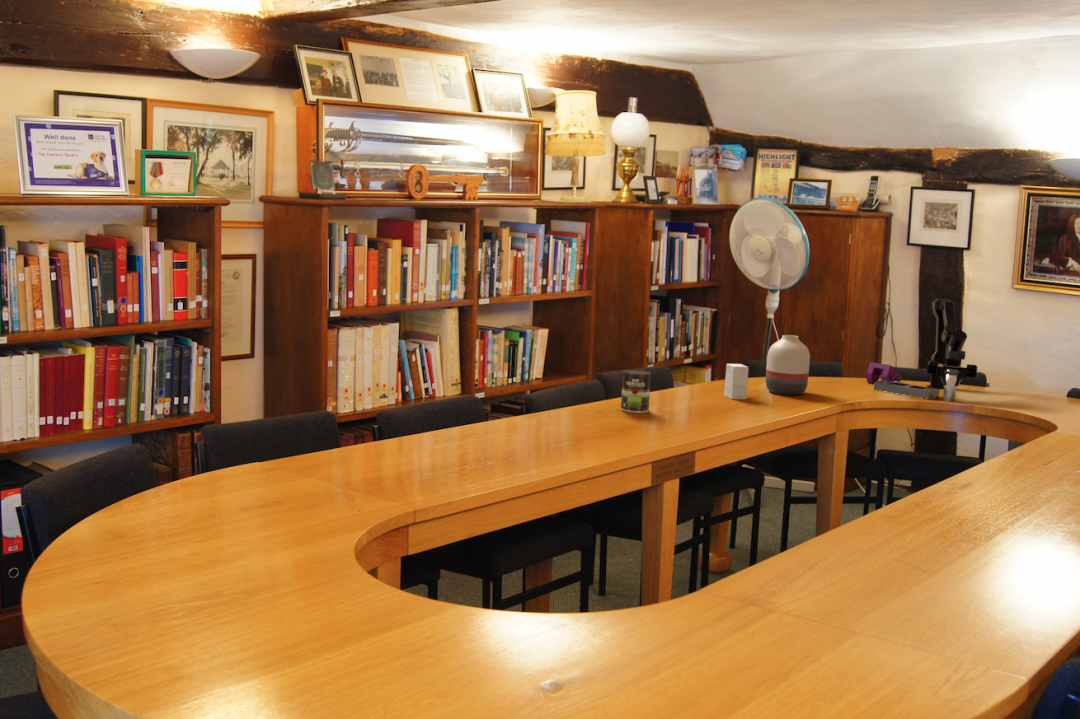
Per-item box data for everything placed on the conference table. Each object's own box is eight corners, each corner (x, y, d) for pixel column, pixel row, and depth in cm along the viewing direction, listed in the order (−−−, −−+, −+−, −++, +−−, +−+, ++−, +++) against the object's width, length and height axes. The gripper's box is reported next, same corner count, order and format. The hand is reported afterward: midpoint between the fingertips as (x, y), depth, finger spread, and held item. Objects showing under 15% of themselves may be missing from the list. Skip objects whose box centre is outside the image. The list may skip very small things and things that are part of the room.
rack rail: (884, 387, 415) (885, 379, 414) (938, 397, 397) (939, 388, 397) (873, 390, 408) (874, 381, 408) (928, 399, 391) (929, 390, 390)
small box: (746, 399, 374) (749, 366, 372) (731, 399, 373) (733, 366, 371) (738, 395, 382) (741, 363, 380) (723, 395, 381) (726, 363, 379)
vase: (789, 388, 404) (794, 332, 400) (815, 396, 388) (820, 338, 385) (756, 389, 397) (760, 333, 394) (781, 397, 382) (786, 339, 378)
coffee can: (648, 414, 339) (650, 375, 337) (619, 411, 341) (621, 373, 338) (650, 408, 349) (652, 370, 347) (622, 406, 351) (624, 368, 348)
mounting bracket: (879, 393, 436) (864, 379, 423) (885, 376, 437) (870, 362, 425) (899, 396, 429) (884, 382, 417) (905, 379, 430) (890, 365, 418)
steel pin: (945, 399, 394) (949, 368, 392) (956, 401, 390) (960, 369, 388) (940, 400, 391) (944, 369, 389) (951, 402, 387) (955, 370, 385)
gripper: (930, 341, 394) (927, 371, 386) (979, 345, 387) (977, 376, 379) (928, 357, 402) (925, 387, 394) (976, 362, 396) (974, 392, 387)
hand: (950, 385), depth 388 cm, fingers closed on steel pin, 4 cm apart
